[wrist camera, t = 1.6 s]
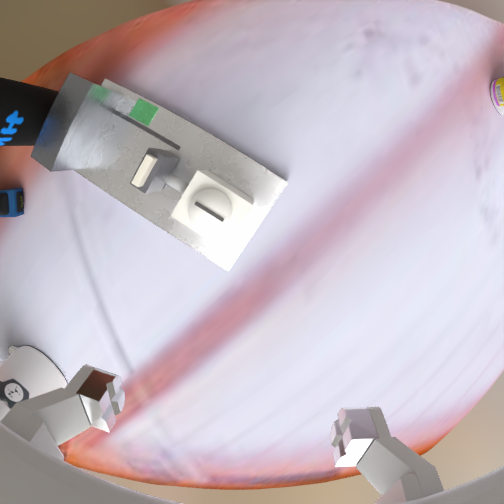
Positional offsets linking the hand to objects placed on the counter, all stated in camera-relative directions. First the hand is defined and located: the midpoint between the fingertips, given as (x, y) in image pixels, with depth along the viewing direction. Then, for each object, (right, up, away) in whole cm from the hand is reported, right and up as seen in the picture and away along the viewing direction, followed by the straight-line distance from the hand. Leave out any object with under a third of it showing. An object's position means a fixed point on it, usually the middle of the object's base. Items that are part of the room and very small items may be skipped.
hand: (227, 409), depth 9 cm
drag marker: (-9, +15, +21) cm, 27 cm away
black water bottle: (-26, +24, +21) cm, 41 cm away
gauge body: (-4, +12, +22) cm, 25 cm away
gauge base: (-9, +16, +23) cm, 29 cm away
